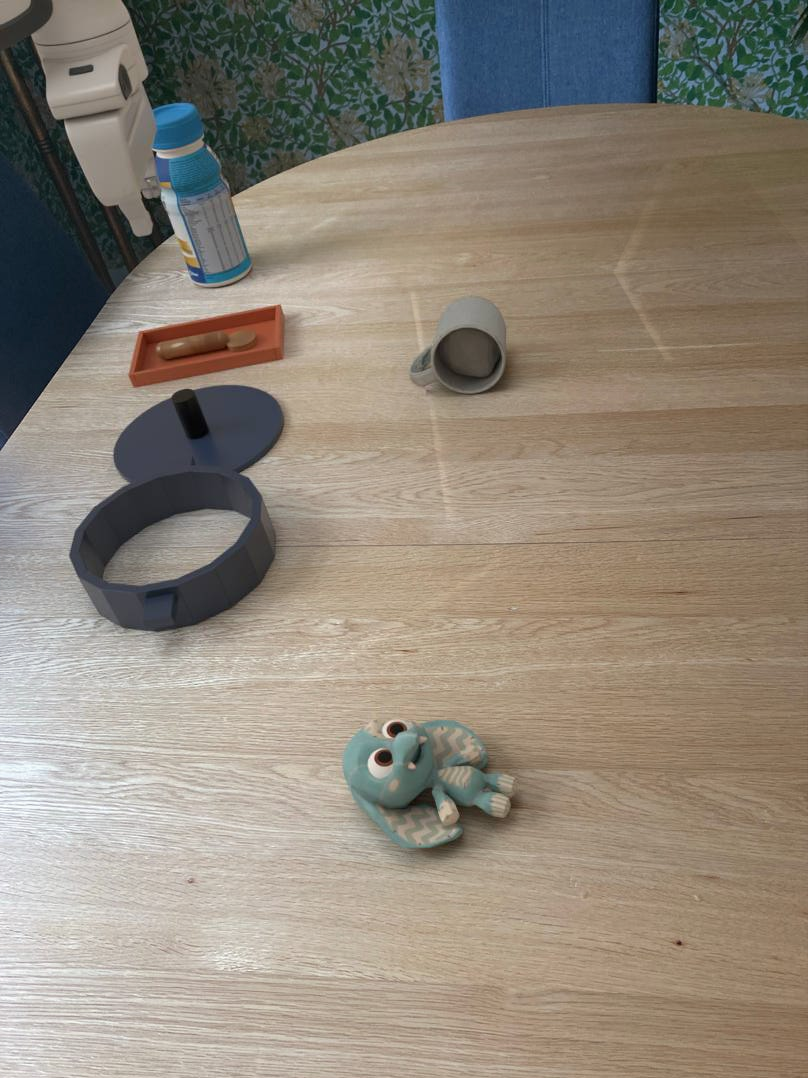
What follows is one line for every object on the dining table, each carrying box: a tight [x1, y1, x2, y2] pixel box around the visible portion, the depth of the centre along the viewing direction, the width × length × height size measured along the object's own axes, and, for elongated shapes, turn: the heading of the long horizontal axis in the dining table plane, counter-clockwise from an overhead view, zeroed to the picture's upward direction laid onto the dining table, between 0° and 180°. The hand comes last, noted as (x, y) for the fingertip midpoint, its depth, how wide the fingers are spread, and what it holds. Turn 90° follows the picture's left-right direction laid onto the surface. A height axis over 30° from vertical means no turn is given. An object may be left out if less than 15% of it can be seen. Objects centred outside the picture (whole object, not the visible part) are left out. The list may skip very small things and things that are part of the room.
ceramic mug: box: [408, 295, 507, 395], centre depth 105 cm, size 11×8×8 cm
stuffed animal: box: [341, 716, 518, 850], centre depth 68 cm, size 11×7×12 cm
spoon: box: [155, 330, 258, 360], centre depth 117 cm, size 12×4×2 cm, turn 97°
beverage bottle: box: [152, 102, 253, 288], centre depth 126 cm, size 8×8×20 cm
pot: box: [68, 456, 277, 632], centre depth 90 cm, size 17×22×5 cm
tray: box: [128, 303, 285, 388], centre depth 117 cm, size 17×10×2 cm, turn 97°
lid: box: [112, 384, 285, 484], centre depth 103 cm, size 18×18×6 cm
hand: (149, 213), depth 103 cm, fingers open, 8 cm apart
